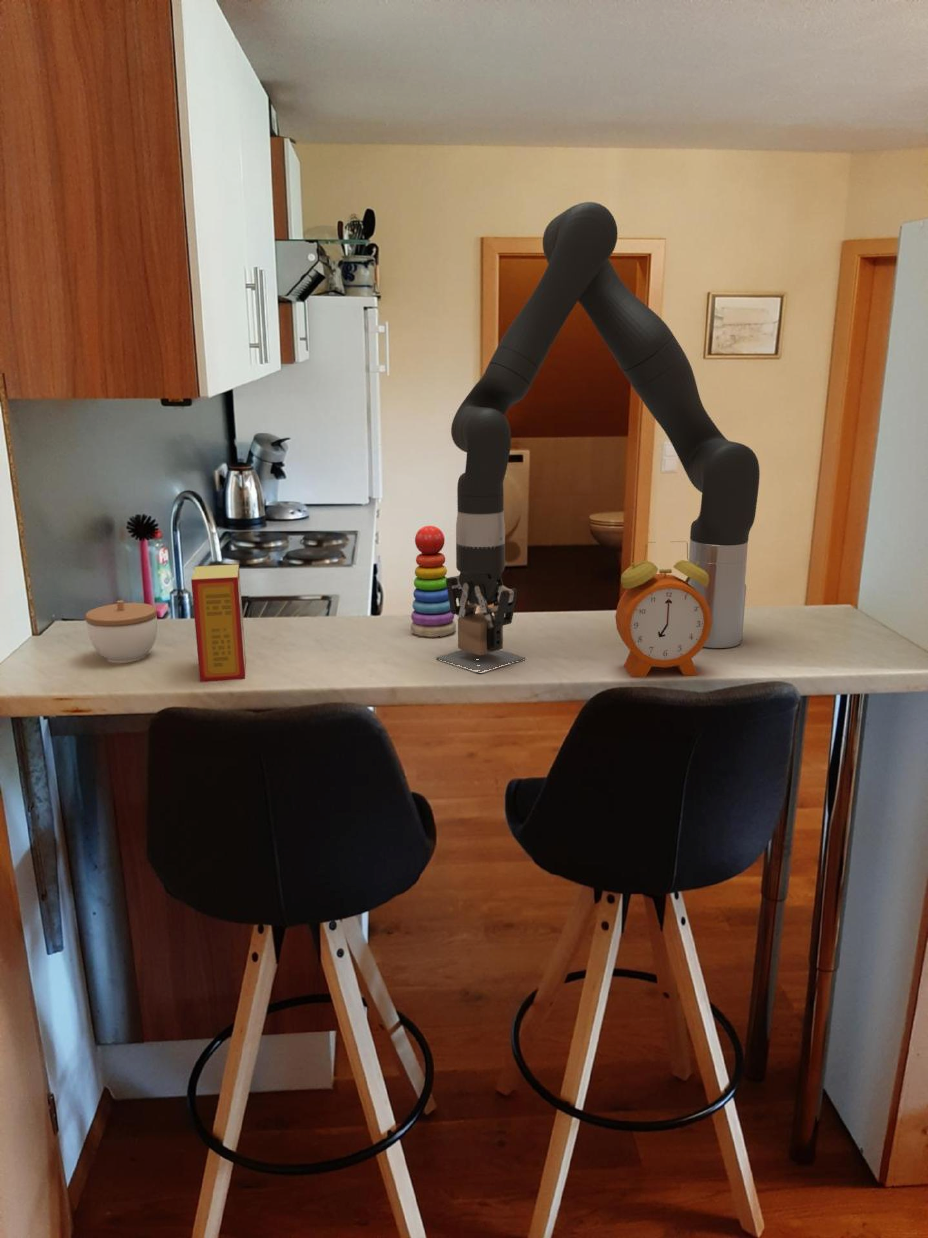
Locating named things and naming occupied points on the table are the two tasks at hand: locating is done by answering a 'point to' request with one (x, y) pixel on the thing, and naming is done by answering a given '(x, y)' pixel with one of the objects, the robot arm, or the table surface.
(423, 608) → the stacking toy
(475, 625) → the cube
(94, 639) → the lidded jar
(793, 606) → the table surface
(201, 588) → the baking soda box
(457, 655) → the mat
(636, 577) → the alarm clock
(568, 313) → the robot arm
